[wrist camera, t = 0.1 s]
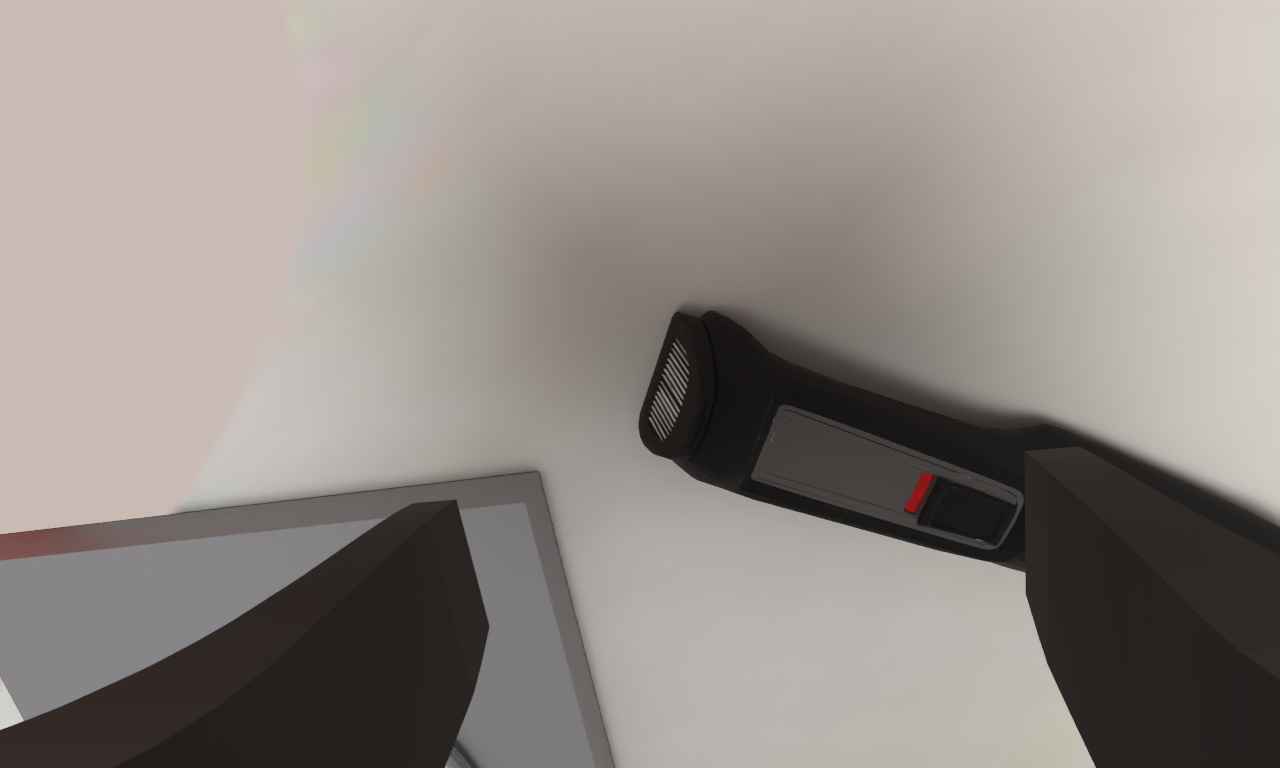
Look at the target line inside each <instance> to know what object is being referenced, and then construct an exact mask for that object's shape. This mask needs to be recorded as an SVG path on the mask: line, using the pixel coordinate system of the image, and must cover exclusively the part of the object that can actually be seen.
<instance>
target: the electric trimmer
mask: <svg viewBox="0 0 1280 768" xmlns="http://www.w3.org/2000/svg"><path fill="white" fill-rule="evenodd" d="M639 432H640V437H641V439H642V442H643V444H644V445H645V446H646V447H647V448H648V449H649V450H650V451H651V452H652V453H653V454H655V455H658V456H661V457H664V458H668V459H671V460H673V461H674V462H675V463H676V464H677V465H678V466H679V467H680V468H682V469H683V470H684V471H685V472H687V473H688V474H689V475H690V476H692V477H693V478H695V479H696V480H699V481H702V482H705V483H708V484H711V485H714V486H717V487H720V488H723V489H725V490H728V491H731V492H734V493H737V494H739V495H742V496H745V497H748V498H751V499H754V500H757V501H761V502H765V503H768V504H772V505H775V506H779V507H783V508H786V509H790V510H794V511H797V512H801V513H805V514H808V515H812V516H815V517H819V518H823V519H826V520H830V521H834V522H837V523H841V524H844V525H848V526H852V527H855V528H859V529H862V530H866V531H870V532H873V533H877V534H881V535H884V536H888V537H892V538H895V539H899V540H902V541H906V542H910V543H913V544H917V545H921V546H924V547H928V548H931V549H935V550H939V551H943V552H948V553H952V554H956V555H961V556H965V557H969V558H974V559H978V560H982V561H988V562H992V563H995V564H998V565H1001V566H1004V567H1007V568H1011V569H1014V570H1018V571H1022V572H1026V556H1025V451H1032V450H1043V449H1055V448H1067V447H1080V448H1083V449H1085V450H1087V451H1089V452H1091V453H1093V454H1094V455H1096V456H1098V457H1100V458H1102V459H1103V460H1105V461H1107V462H1109V463H1110V464H1112V465H1114V466H1116V467H1117V468H1119V469H1121V470H1123V471H1124V472H1126V473H1128V474H1129V475H1131V476H1133V477H1134V478H1136V479H1138V480H1140V481H1141V482H1143V483H1145V484H1146V485H1148V486H1150V487H1152V488H1153V489H1155V490H1157V491H1159V492H1160V493H1162V494H1164V495H1166V496H1167V497H1169V498H1171V499H1173V500H1174V501H1176V502H1178V503H1180V504H1182V505H1183V506H1185V507H1187V508H1189V509H1190V510H1192V511H1194V512H1196V513H1198V514H1200V515H1202V516H1203V517H1205V518H1207V519H1209V520H1211V521H1213V522H1215V523H1217V524H1219V525H1220V526H1222V527H1224V528H1226V529H1228V530H1230V531H1232V532H1234V533H1236V534H1238V535H1240V536H1242V537H1244V538H1246V539H1248V540H1250V541H1253V542H1255V543H1257V544H1259V545H1261V546H1263V547H1265V548H1267V549H1269V550H1271V551H1273V552H1275V553H1277V554H1279V555H1280V527H1278V526H1276V525H1274V524H1272V523H1270V522H1268V521H1266V520H1264V519H1262V518H1260V517H1258V516H1256V515H1254V514H1252V513H1250V512H1248V511H1246V510H1243V509H1241V508H1239V507H1237V506H1235V505H1232V504H1230V503H1228V502H1226V501H1224V500H1221V499H1219V498H1217V497H1215V496H1213V495H1210V494H1208V493H1206V492H1204V491H1202V490H1199V489H1197V488H1195V487H1193V486H1191V485H1188V484H1186V483H1184V482H1182V481H1180V480H1177V479H1175V478H1173V477H1171V476H1169V475H1166V474H1164V473H1162V472H1160V471H1157V470H1155V469H1153V468H1151V467H1149V466H1146V465H1144V464H1142V463H1140V462H1138V461H1135V460H1133V459H1131V458H1129V457H1127V456H1124V455H1122V454H1120V453H1118V452H1116V451H1113V450H1111V449H1109V448H1107V447H1104V446H1102V445H1099V444H1097V443H1095V442H1092V441H1090V440H1087V439H1085V438H1082V437H1080V436H1077V435H1075V434H1073V433H1070V432H1068V431H1065V430H1063V429H1060V428H1058V427H1054V426H1050V425H1046V424H1043V425H1038V426H1033V427H1028V428H1023V429H1017V430H999V429H992V428H984V427H980V426H976V425H973V424H969V423H966V422H962V421H959V420H955V419H952V418H949V417H946V416H943V415H940V414H937V413H934V412H931V411H928V410H925V409H921V408H918V407H915V406H912V405H909V404H906V403H903V402H900V401H897V400H894V399H891V398H888V397H885V396H882V395H879V394H875V393H872V392H869V391H866V390H863V389H860V388H857V387H854V386H851V385H848V384H845V383H842V382H839V381H836V380H834V379H831V378H828V377H826V376H823V375H820V374H818V373H815V372H813V371H810V370H807V369H805V368H802V367H799V366H797V365H794V364H792V363H789V362H787V361H785V360H783V359H781V358H779V357H777V356H775V355H773V354H771V353H770V352H769V351H768V350H767V349H766V348H765V347H764V346H763V345H762V344H760V343H759V342H758V341H757V340H756V339H755V338H754V337H753V336H752V335H751V334H750V333H749V332H748V331H747V330H746V329H744V328H743V327H741V326H740V325H738V324H737V323H736V322H734V321H733V320H731V319H730V318H728V317H725V316H723V315H721V314H718V313H716V312H713V311H709V312H707V313H706V314H704V315H703V316H702V317H701V318H700V319H699V318H696V317H693V316H690V315H687V314H683V313H680V312H677V313H675V314H674V315H673V317H672V320H671V323H670V326H669V328H668V331H667V334H666V337H665V340H664V343H663V346H662V349H661V352H660V355H659V358H658V361H657V364H656V367H655V370H654V373H653V376H652V379H651V382H650V385H649V388H648V391H647V394H646V397H645V400H644V403H643V406H642V409H641V412H640V418H639ZM1019 491H1020V492H1021V493H1020V492H1019ZM1023 497H1024V500H1023Z"/></svg>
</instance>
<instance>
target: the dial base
mask: <svg viewBox="0 0 1280 768" xmlns="http://www.w3.org/2000/svg"><path fill="white" fill-rule="evenodd" d="M455 499H456V500H457V504H458V508H459V511H460V515H461V519H462V523H463V527H464V530H465V534H466V538H467V542H468V546H469V550H470V553H471V557H472V561H473V565H474V569H475V572H476V576H477V580H478V584H479V588H480V591H481V595H482V599H483V603H484V607H485V610H486V614H487V618H488V622H489V626H490V627H489V632H488V637H487V641H486V646H485V650H484V655H483V660H482V664H481V668H480V672H479V676H478V680H477V684H476V687H475V691H474V694H473V697H472V700H471V702H470V705H469V708H468V710H467V713H466V715H465V718H464V721H463V723H462V726H461V728H460V731H459V733H458V736H457V738H456V741H455V744H454V746H453V747H454V748H455V749H456V750H457V751H458V752H459V753H460V754H461V755H462V756H463V757H464V759H465V760H466V761H467V763H468V764H469V765H470V767H471V768H614V764H613V760H612V756H611V753H610V749H609V745H608V741H607V737H606V733H605V729H604V725H603V721H602V718H601V714H600V710H599V706H598V702H597V698H596V694H595V690H594V686H593V683H592V679H591V675H590V671H589V667H588V663H587V659H586V655H585V651H584V648H583V644H582V640H581V636H580V632H579V628H578V624H577V620H576V616H575V612H574V609H573V605H572V601H571V597H570V593H569V589H568V585H567V581H566V577H565V574H564V570H563V566H562V562H561V558H560V554H559V550H558V546H557V542H556V539H555V535H554V531H553V527H552V523H551V519H550V515H549V511H548V507H547V504H546V500H545V496H544V492H543V488H542V484H541V480H540V476H539V472H531V473H523V474H514V475H506V476H497V477H488V478H480V479H471V480H463V481H454V482H446V483H437V484H428V485H420V486H411V487H403V488H394V489H386V490H377V491H368V492H360V493H351V494H343V495H334V496H326V497H317V498H308V499H300V500H291V501H283V502H274V503H266V504H257V505H248V506H240V507H231V508H223V509H214V510H206V511H197V512H188V513H180V514H171V515H163V516H154V517H145V518H138V519H130V520H129V519H128V520H120V521H112V522H103V523H94V524H85V525H77V526H69V527H60V528H52V529H43V530H34V531H26V532H17V533H8V534H0V677H1V679H2V681H3V682H4V684H5V686H6V688H7V690H8V692H9V694H10V695H11V697H12V699H13V701H14V703H15V705H16V706H17V708H18V710H19V712H20V714H21V716H22V718H23V719H24V721H26V720H28V719H31V718H33V717H36V716H38V715H41V714H43V713H46V712H48V711H51V710H53V709H56V708H58V707H61V706H63V705H65V704H68V703H70V702H72V701H74V700H77V699H79V698H81V697H83V696H85V695H88V694H90V693H92V692H94V691H96V690H99V689H101V688H103V687H105V686H107V685H110V684H112V683H114V682H116V681H118V680H121V679H123V678H125V677H127V676H129V675H132V674H134V673H136V672H138V671H140V670H143V669H145V668H147V667H149V666H151V665H153V664H155V663H157V662H159V661H160V660H162V659H164V658H166V657H168V656H170V655H172V654H174V653H175V652H177V651H179V650H181V649H183V648H185V647H187V646H189V645H191V644H192V643H194V642H196V641H198V640H200V639H202V638H203V637H205V636H207V635H209V634H210V633H212V632H214V631H216V630H217V629H219V628H221V627H222V626H224V625H226V624H228V623H229V622H231V621H233V620H234V619H236V618H238V617H239V616H241V615H242V614H244V613H245V612H247V611H248V610H250V609H252V608H253V607H255V606H256V605H258V604H259V603H261V602H262V601H264V600H266V599H267V598H269V597H270V596H272V595H273V594H275V593H276V592H278V591H280V590H281V589H283V588H284V587H286V586H287V585H289V584H291V583H292V582H294V581H295V580H297V579H298V578H300V577H301V576H303V575H304V574H306V573H307V572H309V571H310V570H311V569H313V568H314V567H316V566H317V565H319V564H320V563H322V562H323V561H324V560H326V559H327V558H329V557H330V556H332V555H333V554H335V553H336V552H337V551H339V550H340V549H342V548H343V547H345V546H346V545H348V544H349V543H351V542H352V541H353V540H355V539H356V538H358V537H359V536H361V535H362V534H364V533H365V532H366V531H368V530H369V529H371V528H372V527H374V526H375V525H377V524H378V523H380V522H381V521H383V520H384V519H386V518H388V517H389V516H391V515H392V514H394V513H396V512H397V511H399V510H401V509H403V508H405V507H407V506H409V505H410V504H412V503H419V502H431V501H443V500H455Z"/></svg>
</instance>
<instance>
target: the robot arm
mask: <svg viewBox="0 0 1280 768" xmlns="http://www.w3.org/2000/svg"><path fill="white" fill-rule="evenodd" d="M1025 556H1026V596H1027V599H1028V602H1029V606H1030V609H1031V613H1032V616H1033V619H1034V623H1035V626H1036V629H1037V633H1038V636H1039V639H1040V642H1041V645H1042V648H1043V651H1044V654H1045V657H1046V660H1047V664H1048V666H1049V668H1050V670H1051V672H1052V675H1053V677H1054V679H1055V681H1056V684H1057V686H1058V688H1059V690H1060V692H1061V694H1062V696H1063V699H1064V701H1065V703H1066V705H1067V707H1068V709H1069V711H1070V714H1071V716H1072V718H1073V720H1074V722H1075V724H1076V726H1077V728H1078V731H1079V733H1080V735H1081V737H1082V739H1083V741H1084V743H1085V745H1086V747H1087V750H1088V752H1089V754H1090V756H1091V758H1092V760H1093V762H1094V764H1095V766H1096V768H1280V555H1279V554H1277V553H1275V552H1273V551H1271V550H1269V549H1267V548H1265V547H1263V546H1261V545H1259V544H1257V543H1255V542H1253V541H1250V540H1248V539H1246V538H1244V537H1242V536H1240V535H1238V534H1236V533H1234V532H1232V531H1230V530H1228V529H1226V528H1224V527H1222V526H1220V525H1219V524H1217V523H1215V522H1213V521H1211V520H1209V519H1207V518H1205V517H1203V516H1202V515H1200V514H1198V513H1196V512H1194V511H1192V510H1190V509H1189V508H1187V507H1185V506H1183V505H1182V504H1180V503H1178V502H1176V501H1174V500H1173V499H1171V498H1169V497H1167V496H1166V495H1164V494H1162V493H1160V492H1159V491H1157V490H1155V489H1153V488H1152V487H1150V486H1148V485H1146V484H1145V483H1143V482H1141V481H1140V480H1138V479H1136V478H1134V477H1133V476H1131V475H1129V474H1128V473H1126V472H1124V471H1123V470H1121V469H1119V468H1117V467H1116V466H1114V465H1112V464H1110V463H1109V462H1107V461H1105V460H1103V459H1102V458H1100V457H1098V456H1096V455H1094V454H1093V453H1091V452H1089V451H1087V450H1085V449H1083V448H1080V447H1067V448H1055V449H1043V450H1032V451H1025ZM489 627H490V626H489V622H488V618H487V614H486V610H485V607H484V603H483V599H482V595H481V591H480V588H479V584H478V580H477V576H476V572H475V569H474V565H473V561H472V557H471V553H470V550H469V546H468V542H467V538H466V534H465V530H464V527H463V523H462V519H461V515H460V511H459V508H458V504H457V500H456V499H455V500H443V501H431V502H419V503H412V504H410V505H409V506H407V507H405V508H403V509H401V510H399V511H397V512H396V513H394V514H392V515H391V516H389V517H388V518H386V519H384V520H383V521H381V522H380V523H378V524H377V525H375V526H374V527H372V528H371V529H369V530H368V531H366V532H365V533H364V534H362V535H361V536H359V537H358V538H356V539H355V540H353V541H352V542H351V543H349V544H348V545H346V546H345V547H343V548H342V549H340V550H339V551H337V552H336V553H335V554H333V555H332V556H330V557H329V558H327V559H326V560H324V561H323V562H322V563H320V564H319V565H317V566H316V567H314V568H313V569H311V570H310V571H309V572H307V573H306V574H304V575H303V576H301V577H300V578H298V579H297V580H295V581H294V582H292V583H291V584H289V585H287V586H286V587H284V588H283V589H281V590H280V591H278V592H276V593H275V594H273V595H272V596H270V597H269V598H267V599H266V600H264V601H262V602H261V603H259V604H258V605H256V606H255V607H253V608H252V609H250V610H248V611H247V612H245V613H244V614H242V615H241V616H239V617H238V618H236V619H234V620H233V621H231V622H229V623H228V624H226V625H224V626H222V627H221V628H219V629H217V630H216V631H214V632H212V633H210V634H209V635H207V636H205V637H203V638H202V639H200V640H198V641H196V642H194V643H192V644H191V645H189V646H187V647H185V648H183V649H181V650H179V651H177V652H175V653H174V654H172V655H170V656H168V657H166V658H164V659H162V660H160V661H159V662H157V663H155V664H153V665H151V666H149V667H147V668H145V669H143V670H140V671H138V672H136V673H134V674H132V675H129V676H127V677H125V678H123V679H121V680H118V681H116V682H114V683H112V684H110V685H107V686H105V687H103V688H101V689H99V690H96V691H94V692H92V693H90V694H88V695H85V696H83V697H81V698H79V699H77V700H74V701H72V702H70V703H68V704H65V705H63V706H61V707H58V708H56V709H53V710H51V711H48V712H46V713H43V714H41V715H38V716H36V717H33V718H31V719H28V720H26V721H23V722H21V723H18V724H16V725H13V726H10V727H8V728H5V729H2V730H0V768H445V766H446V763H447V761H448V759H449V756H450V754H451V751H452V749H453V746H454V744H455V741H456V738H457V736H458V733H459V731H460V728H461V726H462V723H463V721H464V718H465V715H466V713H467V710H468V708H469V705H470V702H471V700H472V697H473V694H474V691H475V687H476V684H477V680H478V676H479V672H480V668H481V664H482V660H483V655H484V650H485V646H486V641H487V637H488V632H489Z"/></svg>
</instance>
